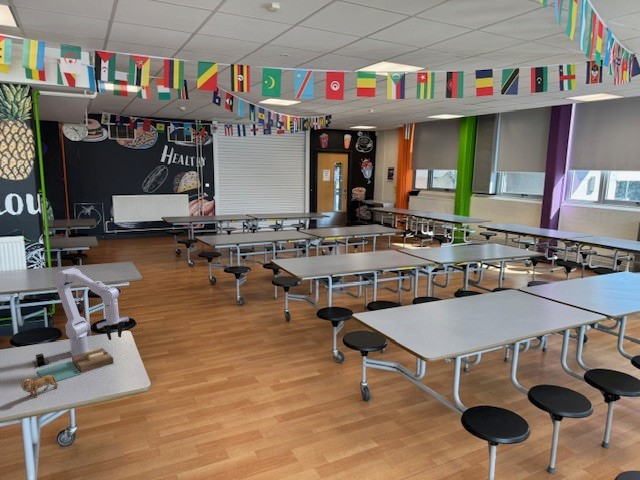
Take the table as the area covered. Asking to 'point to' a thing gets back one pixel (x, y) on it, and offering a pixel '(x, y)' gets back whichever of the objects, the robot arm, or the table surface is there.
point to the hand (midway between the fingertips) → (114, 338)
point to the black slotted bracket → (40, 361)
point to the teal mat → (60, 371)
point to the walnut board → (88, 365)
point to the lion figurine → (38, 384)
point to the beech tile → (94, 354)
